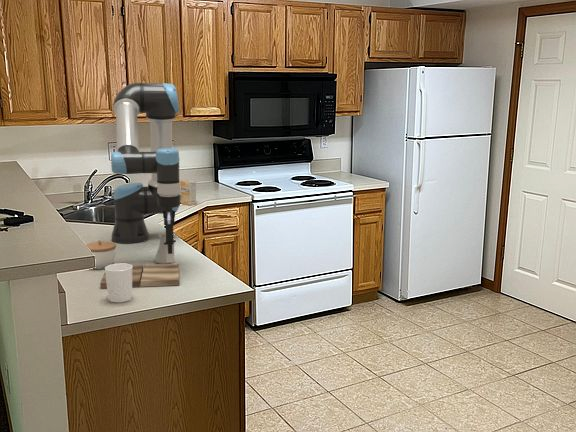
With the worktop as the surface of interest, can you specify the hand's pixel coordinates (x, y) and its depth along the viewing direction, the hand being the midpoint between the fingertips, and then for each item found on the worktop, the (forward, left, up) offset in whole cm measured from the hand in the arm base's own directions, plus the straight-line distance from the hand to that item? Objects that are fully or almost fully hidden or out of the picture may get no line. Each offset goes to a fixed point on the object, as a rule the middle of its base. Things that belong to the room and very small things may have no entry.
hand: (170, 261), depth 202 cm
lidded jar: (-10, -24, -4) cm, 27 cm away
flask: (-13, -2, -4) cm, 13 cm away
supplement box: (-123, +7, -4) cm, 123 cm away
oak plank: (+6, -3, -3) cm, 8 cm away
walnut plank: (+6, -15, -4) cm, 17 cm away
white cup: (+25, -14, -4) cm, 29 cm away
